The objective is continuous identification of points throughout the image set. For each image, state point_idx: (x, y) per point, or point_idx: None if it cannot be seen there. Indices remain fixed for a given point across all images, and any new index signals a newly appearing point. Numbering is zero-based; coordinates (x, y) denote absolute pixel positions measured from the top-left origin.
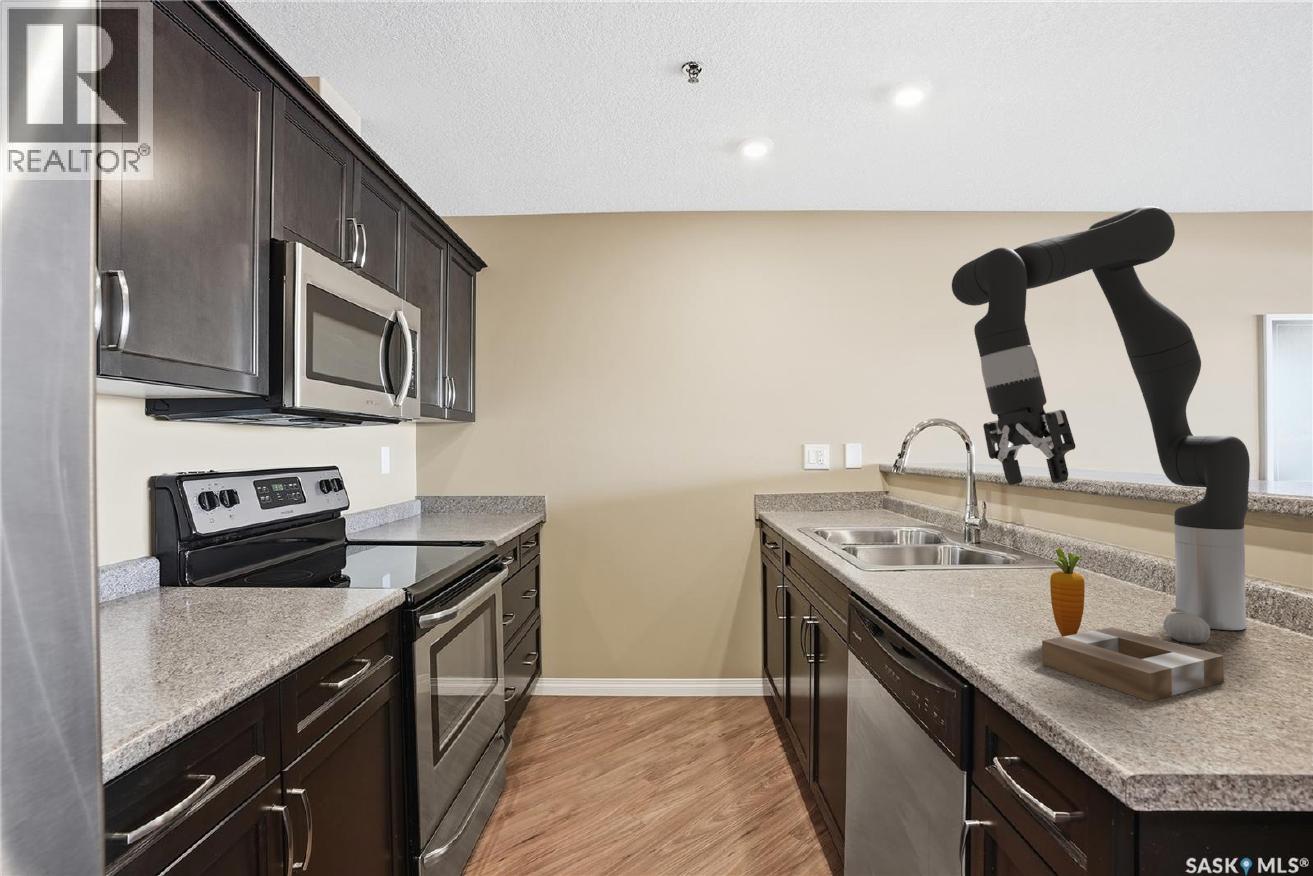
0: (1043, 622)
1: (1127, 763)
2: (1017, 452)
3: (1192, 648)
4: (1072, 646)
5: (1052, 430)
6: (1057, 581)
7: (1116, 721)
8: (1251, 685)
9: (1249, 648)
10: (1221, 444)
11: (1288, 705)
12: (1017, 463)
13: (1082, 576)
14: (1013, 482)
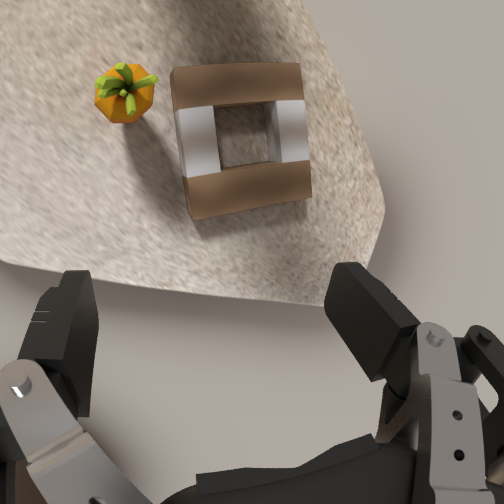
0: (42, 68)
1: None
2: (63, 403)
3: (273, 65)
4: (224, 201)
5: (486, 451)
6: (128, 120)
7: (312, 258)
8: (298, 55)
9: None
10: None
11: (335, 83)
12: (67, 344)
13: (139, 66)
14: (95, 316)
